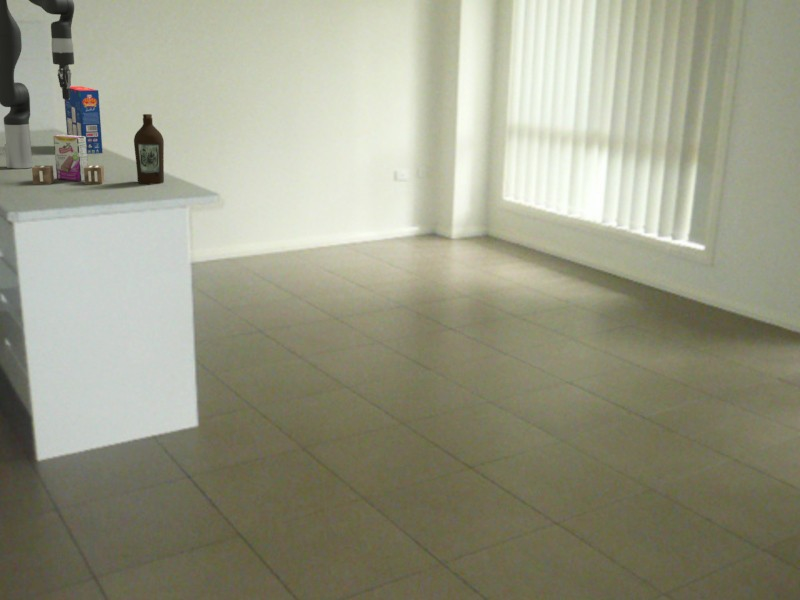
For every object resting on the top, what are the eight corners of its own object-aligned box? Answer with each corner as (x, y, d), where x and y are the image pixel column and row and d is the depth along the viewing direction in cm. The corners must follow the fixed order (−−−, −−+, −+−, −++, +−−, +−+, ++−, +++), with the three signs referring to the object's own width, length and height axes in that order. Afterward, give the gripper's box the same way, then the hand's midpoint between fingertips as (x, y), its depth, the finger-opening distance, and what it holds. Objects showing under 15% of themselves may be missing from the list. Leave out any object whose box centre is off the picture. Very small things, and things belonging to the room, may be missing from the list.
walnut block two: (84, 184, 334) (83, 167, 332) (87, 181, 340) (86, 165, 338) (101, 184, 335) (100, 167, 333) (104, 181, 341) (103, 165, 339)
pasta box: (102, 153, 416) (98, 90, 408) (84, 154, 411) (80, 90, 403) (85, 146, 438) (80, 86, 430) (68, 146, 434) (63, 86, 426)
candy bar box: (56, 179, 342) (52, 135, 338) (64, 177, 347) (61, 134, 342) (81, 181, 339) (77, 137, 334) (89, 180, 343) (86, 135, 339)
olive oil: (136, 180, 345) (133, 113, 338) (165, 179, 348) (162, 113, 341) (135, 184, 335) (131, 115, 328) (165, 184, 338) (162, 115, 331)
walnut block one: (33, 184, 331) (31, 167, 330) (37, 181, 337) (35, 165, 335) (50, 184, 332) (49, 167, 330) (54, 181, 338) (52, 165, 336)
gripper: (55, 50, 345) (59, 97, 350) (48, 51, 332) (52, 100, 337) (76, 50, 346) (80, 97, 351) (69, 51, 333) (73, 100, 338)
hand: (66, 98), depth 344 cm, fingers closed
